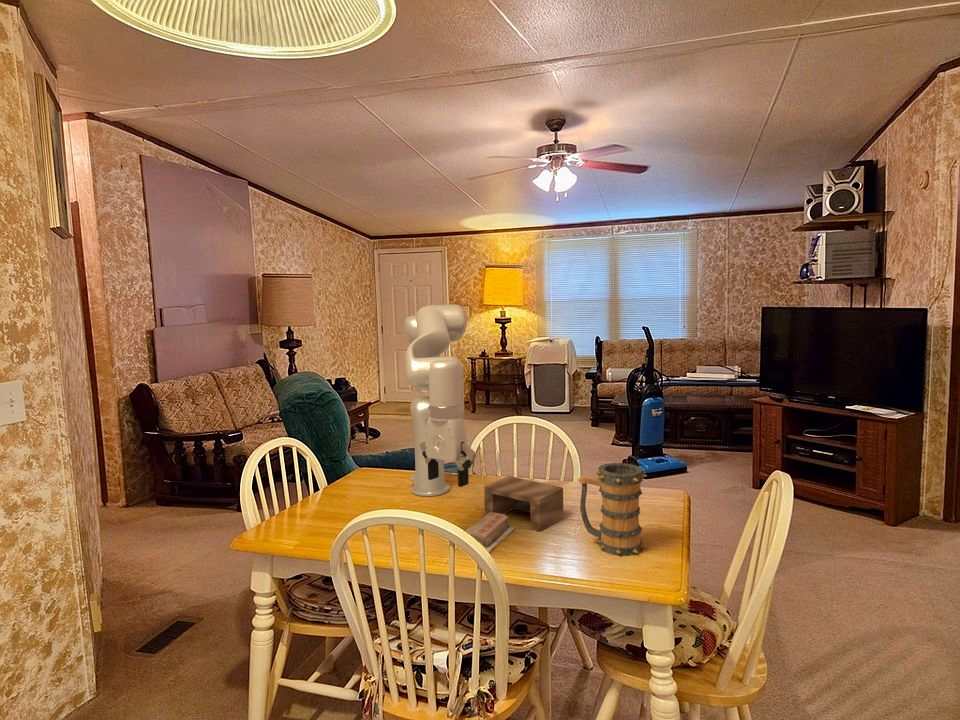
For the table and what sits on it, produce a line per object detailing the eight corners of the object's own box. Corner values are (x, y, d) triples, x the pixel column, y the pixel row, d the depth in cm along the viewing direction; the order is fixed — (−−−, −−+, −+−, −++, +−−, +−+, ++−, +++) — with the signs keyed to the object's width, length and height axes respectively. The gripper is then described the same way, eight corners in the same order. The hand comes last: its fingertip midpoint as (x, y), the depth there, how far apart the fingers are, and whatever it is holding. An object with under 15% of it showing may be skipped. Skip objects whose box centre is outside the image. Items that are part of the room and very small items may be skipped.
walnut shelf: (484, 516, 169) (484, 486, 168) (509, 504, 178) (508, 476, 178) (540, 531, 157) (539, 499, 156) (563, 518, 166) (563, 487, 166)
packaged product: (482, 508, 164) (515, 513, 159) (483, 525, 164) (516, 530, 160) (451, 532, 148) (486, 538, 143) (451, 550, 148) (487, 557, 144)
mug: (646, 560, 138) (646, 478, 136) (573, 553, 144) (572, 473, 142) (648, 539, 151) (648, 463, 149) (580, 532, 156) (580, 459, 154)
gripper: (409, 411, 143) (411, 479, 144) (462, 418, 132) (465, 492, 133) (430, 406, 148) (432, 472, 150) (483, 413, 137) (485, 484, 139)
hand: (448, 481), depth 142 cm, fingers open, 9 cm apart
